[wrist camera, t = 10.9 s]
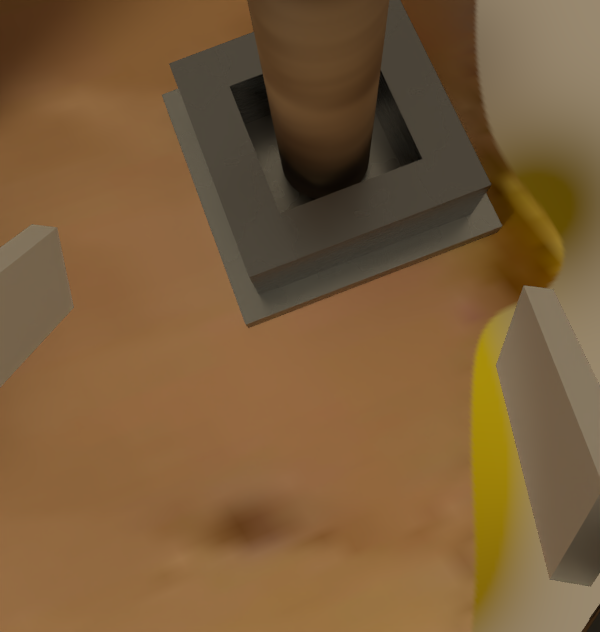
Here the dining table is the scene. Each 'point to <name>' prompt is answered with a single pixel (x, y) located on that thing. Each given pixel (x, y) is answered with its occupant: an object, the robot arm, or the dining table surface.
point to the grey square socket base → (336, 208)
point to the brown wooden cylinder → (321, 85)
